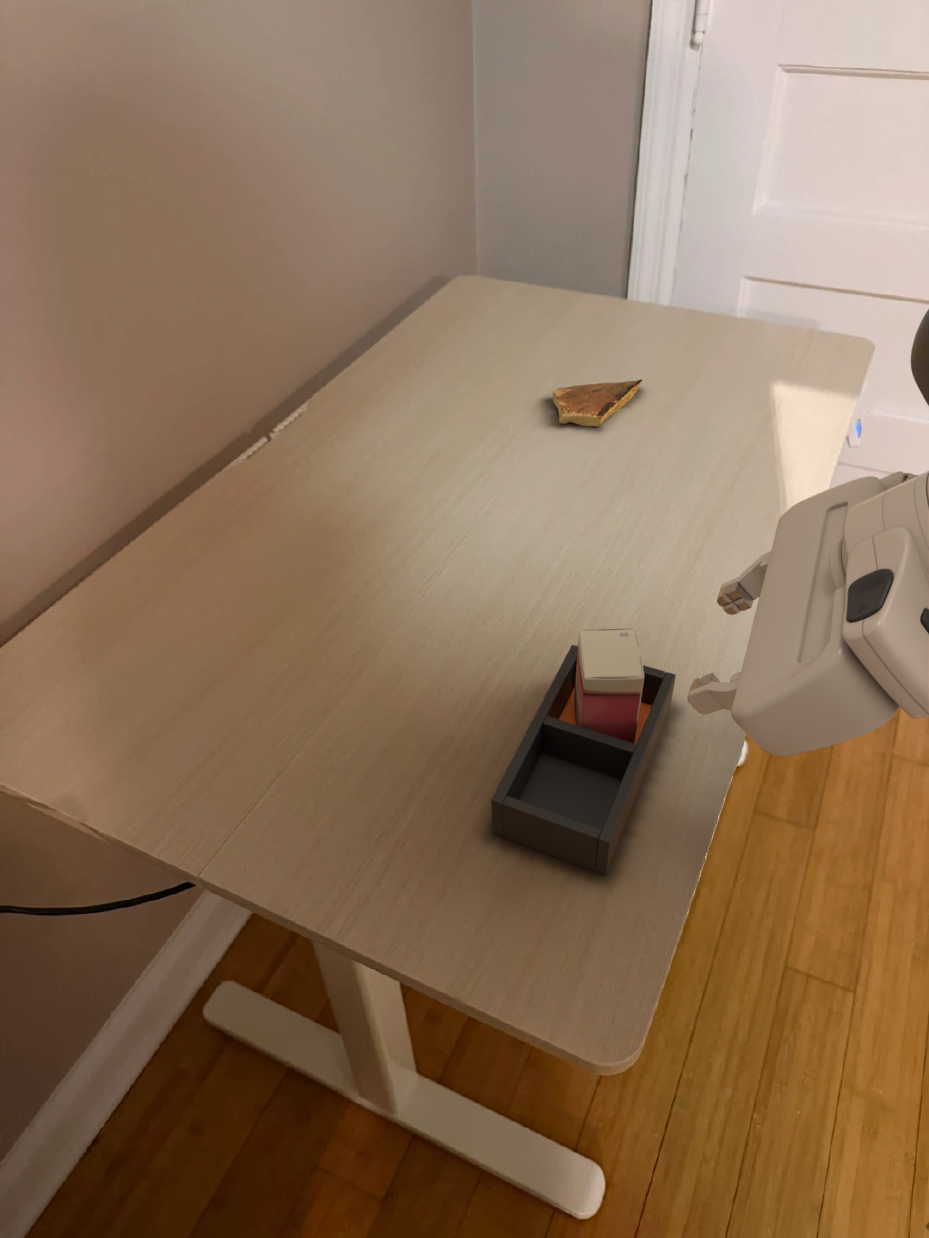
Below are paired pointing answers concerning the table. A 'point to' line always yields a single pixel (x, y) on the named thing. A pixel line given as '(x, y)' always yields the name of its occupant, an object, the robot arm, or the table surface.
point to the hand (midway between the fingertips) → (710, 647)
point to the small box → (609, 682)
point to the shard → (592, 401)
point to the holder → (577, 774)
